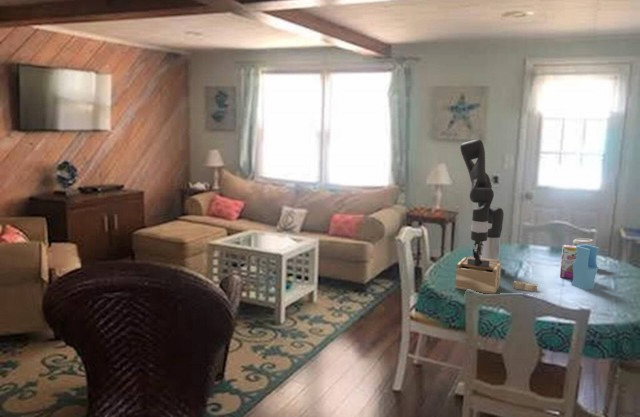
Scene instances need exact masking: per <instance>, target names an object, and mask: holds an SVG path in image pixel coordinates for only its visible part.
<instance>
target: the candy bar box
mask: <svg viewBox="0 0 640 417" xmlns="http://www.w3.org/2000/svg"><path fill="white" fill-rule="evenodd" d="M561 249H562V250H561V258H560V260H561V261H560V268H559V269H560V270H559V277H560V278H563V279H564V278H565V279H572V280H573V264H574V262H575V260H576V257H577V249H576V246H573V245H568V244H562V248H561Z"/></svg>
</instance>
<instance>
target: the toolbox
mask: <svg viewBox="0 0 640 417" xmlns="http://www.w3.org/2000/svg"><path fill="white" fill-rule="evenodd" d="M467 258H468V257H465V256H463V257H462V259H461V260H460V261H458V263H457V264H456V272H455V273H456V275H455V289H458V290H465V291H468V290H467V289H471V290H474V291H473V292H476V291H477V293H484V294H491V295H495V294H496V293H497V291H498V290H499V288H500V286H501V276H502V264H503V262H502V261H500V262H499V263H498V264H497V265H496V266H495V268H494V269H493V270H487V269H480V268H473V267H466V266H462V263H463V262H464V261H465V260H466V259H467Z"/></svg>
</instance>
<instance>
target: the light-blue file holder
mask: <svg viewBox="0 0 640 417" xmlns="http://www.w3.org/2000/svg"><path fill="white" fill-rule="evenodd" d="M576 249H577V257H576V260H575V262H574V264H573V279H572V281H571V283H570V285H571V286H572V287H575V288H577V289H580V290H584V291H587V290H592V289H595V279H596V278H595V277H596V276H597V272H598V270H599V268H598V264H597V256H598V253H599V250H600V249H601V248H600V247H598V246H595V245H593V246H591V245H586V244H583V245H577V246H576Z"/></svg>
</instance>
